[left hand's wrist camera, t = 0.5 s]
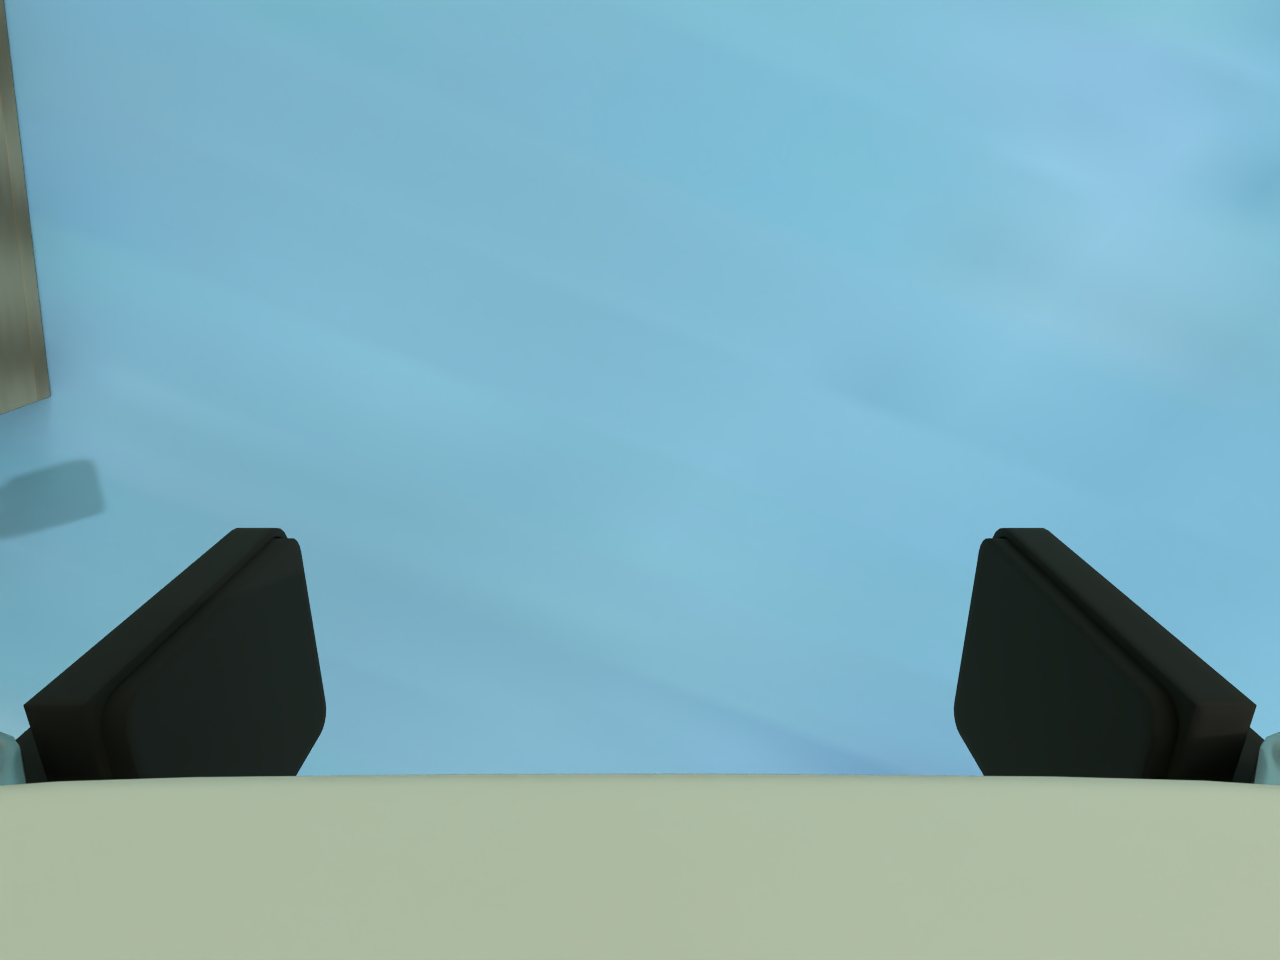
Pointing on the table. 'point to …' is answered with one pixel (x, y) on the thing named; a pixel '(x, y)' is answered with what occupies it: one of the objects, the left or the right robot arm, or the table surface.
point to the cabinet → (16, 261)
